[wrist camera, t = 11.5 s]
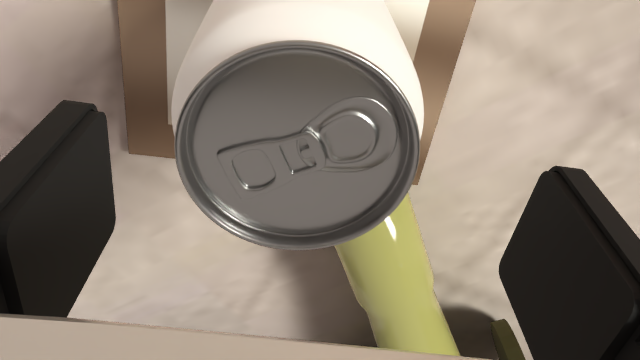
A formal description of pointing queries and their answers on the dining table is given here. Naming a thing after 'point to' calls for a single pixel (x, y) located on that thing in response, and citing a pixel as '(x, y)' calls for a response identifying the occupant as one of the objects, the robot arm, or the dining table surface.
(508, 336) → the cannon
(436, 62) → the sketch board
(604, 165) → the dining table surface
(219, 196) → the can
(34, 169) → the robot arm
